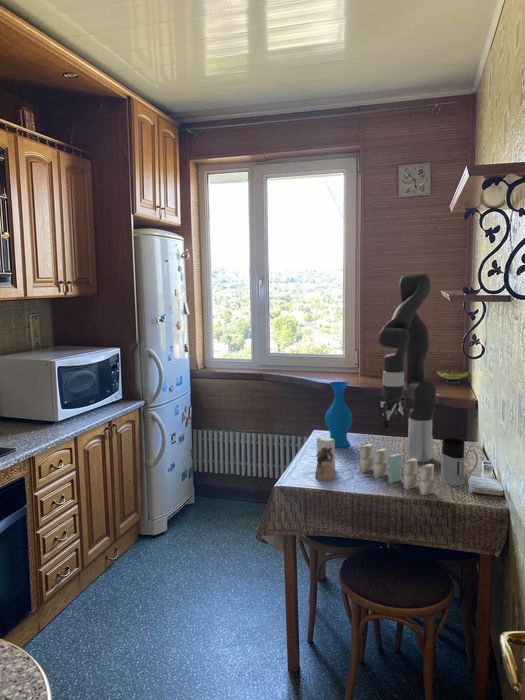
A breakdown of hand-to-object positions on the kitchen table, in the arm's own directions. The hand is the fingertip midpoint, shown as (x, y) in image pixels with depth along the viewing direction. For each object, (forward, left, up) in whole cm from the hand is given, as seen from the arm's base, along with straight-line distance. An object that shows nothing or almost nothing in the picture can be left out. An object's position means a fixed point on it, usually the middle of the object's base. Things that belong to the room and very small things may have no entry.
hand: (392, 427), depth 192 cm
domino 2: (0, -5, -20) cm, 21 cm away
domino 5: (0, +16, -20) cm, 25 cm away
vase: (-14, -42, -20) cm, 49 cm away
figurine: (+18, -16, -20) cm, 32 cm away
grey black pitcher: (-17, +17, -20) cm, 31 cm away
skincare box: (+11, -23, -20) cm, 33 cm away
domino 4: (0, +9, -20) cm, 22 cm away
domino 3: (0, +2, -20) cm, 20 cm away
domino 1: (0, -12, -20) cm, 23 cm away
